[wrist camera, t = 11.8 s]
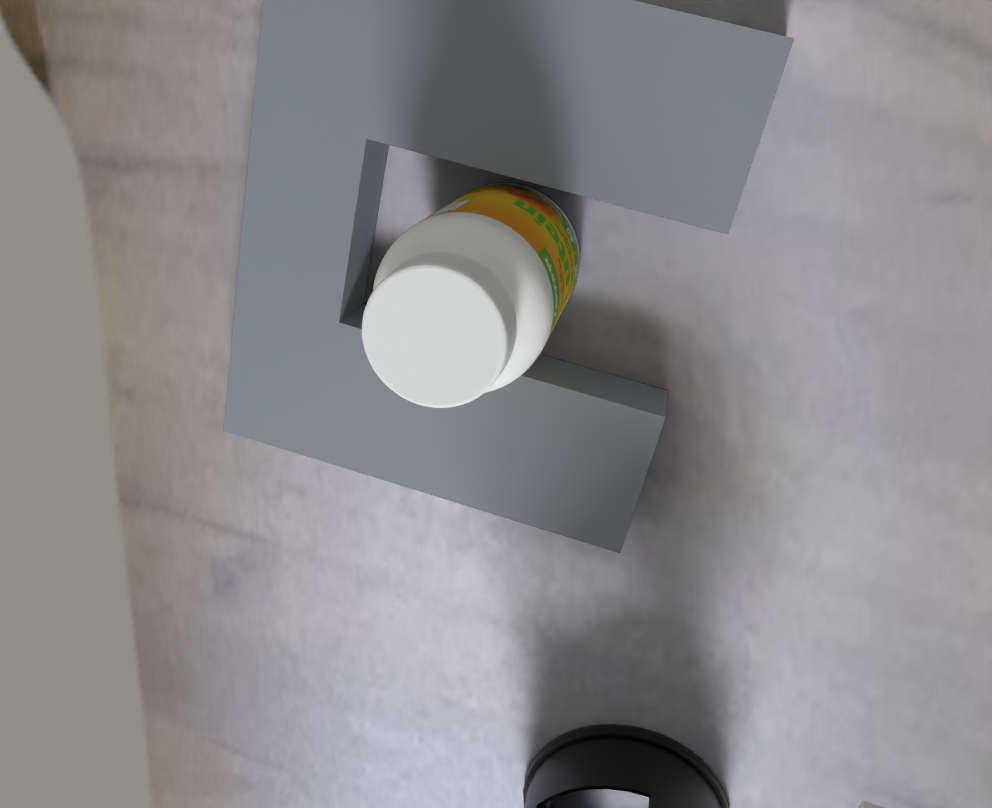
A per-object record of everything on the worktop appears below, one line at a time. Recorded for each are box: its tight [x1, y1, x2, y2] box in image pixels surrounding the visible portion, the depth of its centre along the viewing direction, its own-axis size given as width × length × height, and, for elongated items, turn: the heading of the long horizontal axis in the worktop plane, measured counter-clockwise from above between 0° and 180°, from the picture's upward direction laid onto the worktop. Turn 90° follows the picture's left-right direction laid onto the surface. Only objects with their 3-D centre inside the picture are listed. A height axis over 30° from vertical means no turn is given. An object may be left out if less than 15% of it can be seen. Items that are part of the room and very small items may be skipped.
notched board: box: [223, 0, 794, 553], centre depth 30 cm, size 16×18×2 cm
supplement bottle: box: [362, 183, 580, 408], centre depth 27 cm, size 5×5×10 cm
